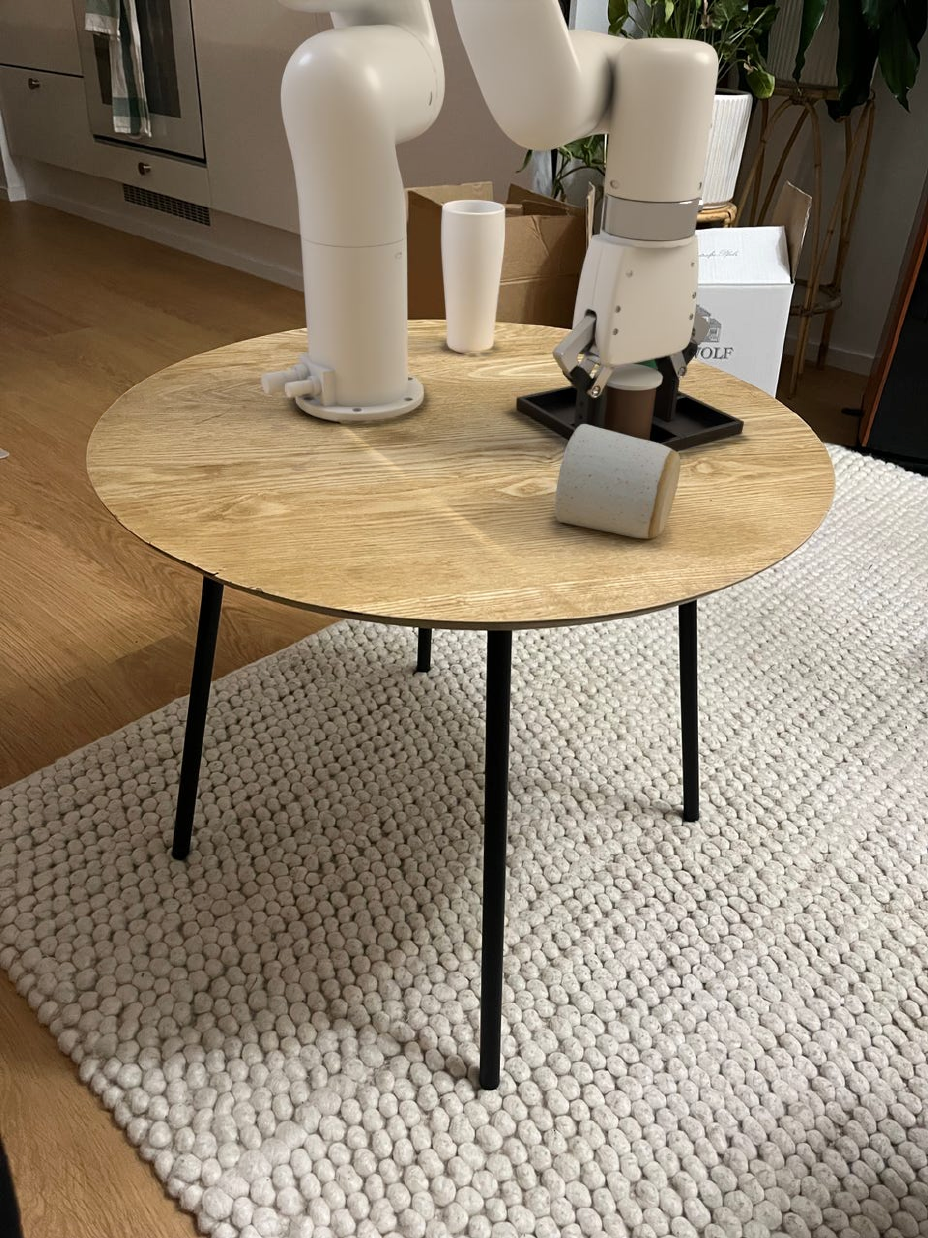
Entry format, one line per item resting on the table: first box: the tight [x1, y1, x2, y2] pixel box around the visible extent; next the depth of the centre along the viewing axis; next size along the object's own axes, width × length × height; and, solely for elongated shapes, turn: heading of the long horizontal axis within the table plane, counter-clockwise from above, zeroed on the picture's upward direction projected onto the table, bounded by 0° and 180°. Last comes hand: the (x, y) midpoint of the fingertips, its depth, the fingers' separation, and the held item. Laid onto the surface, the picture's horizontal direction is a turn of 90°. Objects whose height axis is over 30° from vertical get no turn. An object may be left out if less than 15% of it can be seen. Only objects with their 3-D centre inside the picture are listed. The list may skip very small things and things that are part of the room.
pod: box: [601, 364, 662, 441], centre depth 88 cm, size 6×6×6 cm
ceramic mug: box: [554, 424, 682, 540], centre depth 77 cm, size 11×8×8 cm
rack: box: [515, 385, 745, 453], centre depth 94 cm, size 15×15×2 cm
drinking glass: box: [440, 199, 506, 354], centre depth 108 cm, size 7×7×15 cm
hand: (624, 424), depth 89 cm, fingers open, 7 cm apart
